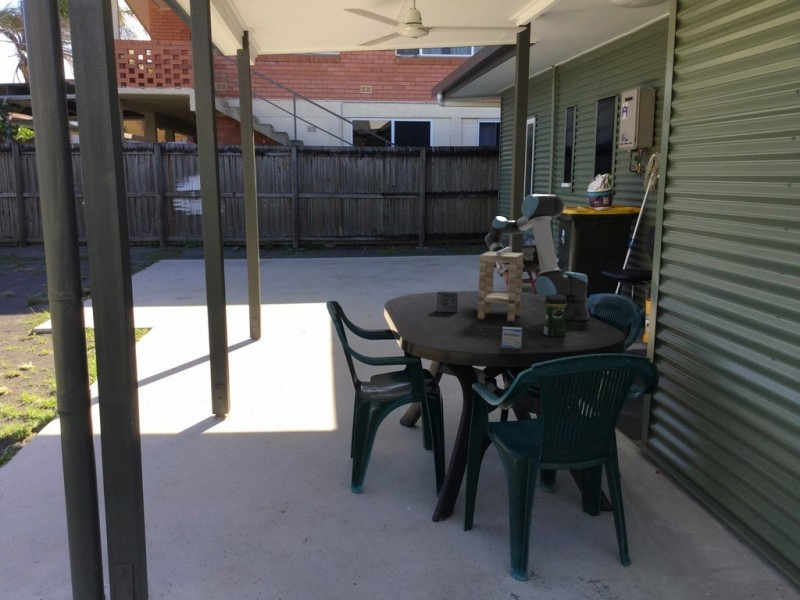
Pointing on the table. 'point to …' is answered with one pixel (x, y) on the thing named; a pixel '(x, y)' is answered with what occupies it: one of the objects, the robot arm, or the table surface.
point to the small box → (446, 302)
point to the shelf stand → (487, 284)
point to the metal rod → (504, 251)
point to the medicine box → (511, 337)
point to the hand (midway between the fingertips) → (509, 272)
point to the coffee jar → (555, 315)
